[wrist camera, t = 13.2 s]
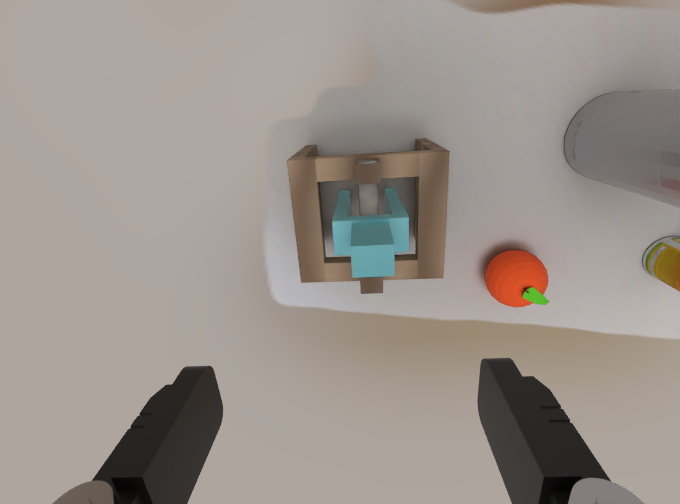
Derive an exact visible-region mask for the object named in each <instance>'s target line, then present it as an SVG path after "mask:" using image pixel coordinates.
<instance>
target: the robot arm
mask: <svg viewBox="0 0 680 504" xmlns="http://www.w3.org/2000/svg"><path fill="white" fill-rule="evenodd" d="M564 150H565V156H566V158H567V161H568V163H569V164H570V166H571V167H572V168H573V169H574V170H575V171H576V172H578V173H579V174H581V175H584V176H586V177H589V178H592V179H595V180H598V181H601V182H604V183H607V184H610V185H613V186H616V187H619V188H622V189H625V190H628V191H631V192H634V193H637V194H640V195H643V196H646V197H649V198H652V199H655V200H658V201H661V202H664V203H667V204H670V205H673V206H676V207H679V208H680V90H659V91H631V92H612V93H609V94H605V95H602V96H600V97H598V98H596V99H594V100H592V101H591V102H589V103H588V104H586V105H585V106H584V107H583V108H582V109H581V110H580V111H579V112H578V113H577V114H576V116H575V117H574V119H573V120H572V121H571V123H570V125H569V128H568V130H567V133H566V136H565V143H564ZM478 411H479V416H480V420H481V423H482V426H483V429H484V431H485V434H486V436H487V439H488V442H489V444H490V447H491V449H492V452H493V455H494V457H495V460H496V463H497V465H498V468H499V471H500V473H501V476H502V478H503V481H504V484H505V486H506V488H507V492H508V494H509V497H510V499H511V502H512V504H644V503H643V502H642V501H641V500H640V499H639V498H638V497H636V496H635V495H634V494H633V493H631V492H630V491H628V490H626V489H625V488H623V487H622V486H620V485H618V484H616V483H613V482H611V480H610V479H609V478H608V476H607V475H606V473H605V472H604V470H603V469H602V467H601V466H600V464H599V463H598V462H597V460H596V458H595V457H594V455H593V454H592V452H591V451H590V449H589V448H588V446H587V445H586V443H585V442H584V440H583V439H582V437H581V436H580V434H579V433H578V431H577V430H576V428H575V427H574V425H573V424H572V423H570V419H569V418H568V416H567V415H566V413H565V412H564V410H563V409H561V406H560V404H559V403H558V401H557V400H556V398H555V397H554V396H553V394H552V392H551V391H550V389H548V388H547V387H546V386H544V385H543V384H542V383H541V382H540V381H538V380H537V379H536V378H535V377H533V376H529V377H522V375H521V374H520V372H519V370H518V368H517V367H516V365H515V364H514V362H513V360H511V359H510V358H493V359H482V361H481V366H480V378H479V390H478ZM222 417H223V404H222V400H221V396H220V392H219V389H218V384H217V380H216V377H215V373H214V370H213V368H212V367H211V366H190V367H185V368H183V369H182V371H181V372H180V374H179V375H178V376H177V378H176V380H175V381H174V383H173V384H172V385H165V386H164V387H163V388H162V389H161V390H159V391H158V392H157V393H156V394H155V395H154V396H152V397H151V398H150V399H149V401H148V402H147V404H146V405H145V406H144V408H143V409H142V411H141V412H140V416H137V418H136V419H135V420H134V422H133V423H132V425H131V428H130V429H128V430H127V432H126V433H125V435H124V436H123V437H122V439H121V440H120V442H119V443H118V445H117V446H116V447H115V449H114V450H113V452H112V453H111V455H110V456H109V457H108V459H107V460H106V462H105V463H104V464H103V466H102V467H101V469H100V470H99V471H98V473H97V474H96V476H95V477H94V478H93V480H92V481H90V482H86V483H83V484H81V485H78V486H76V487H74V488H73V489H71V490H69V491H68V492H66V493H65V494H63V495H62V496H61V497H60V498H58V499H57V500H56V501H55V502H54V503H53V504H187V503H188V500H189V498H190V496H191V493H192V491H193V489H194V486H195V484H196V482H197V479H198V477H199V475H200V472H201V470H202V468H203V465H204V463H205V461H206V458H207V456H208V454H209V451H210V449H211V447H212V444H213V442H214V440H215V437H216V435H217V433H218V430H219V428H220V426H221V422H222Z"/></svg>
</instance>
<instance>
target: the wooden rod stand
mask: <svg viewBox="0 0 680 504" xmlns="http://www.w3.org/2000/svg"><path fill="white" fill-rule="evenodd" d="M287 165H288V174H289V182H290V191H291V199H292V208H293V217H294V225H295V234H296V242H297V251H298V260H299V268H300V277H301V283H304V282H335V281H360V284H361V294H365V293H383V280H398V279H429V278H443V274H444V253H445V233H446V212H447V192H448V171H449V151H448V150H446V149H444V148H443V147H441V146H439V145H437V144H435V143H434V142H432V141H430V140H428V139H427V138H423V139H416V151H406V152H389V153H371V154H354V155H337V156H320V157H317V148H316V145H308V146H305V147H304V148H302V149H301V150H300V151H299V152H297V153H296V154H295V155H294V156H292V157H291V158H290V159H288V160H287ZM400 177H415V221H414V237H415V240H416V254H405V255H394V259H395V276H383V277H360V278H352V265H351V257H326V255H325V243H324V230H323V218H322V207H321V195H320V183H319V182H324V181H343V180H356V185H359V208H360V216H365V215H378V183H381V178H400Z"/></svg>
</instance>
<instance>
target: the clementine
mask: <svg viewBox="0 0 680 504" xmlns="http://www.w3.org/2000/svg"><path fill="white" fill-rule="evenodd" d="M485 282H486V286H487V289H488V291H489V292H490V294H491V295H492V296H493V297H494V298H495V299H496V300H498V301H499V302H500V303H503V304H505V305H508V306H512V307H523V306H527V305H530V304H532V303H536V304H541V305H546V304H547V303H548V302H549V301H548V300H547V299H546V298H545V297H544V296H543V294H544V292H545V291H546V288H547V285H548V275H547V270H546V268H545V267H544V265H543V263H542V262H541V261H540V260H539V259H538V258H537V257H536V256H534V255H532V254H530V253H528V252H526V251H520V250H511V251H506V252H503V253H501V254H499V255H497V256H496V257H495V258H493V259H492V260H491V262H490V263H489V265H488V267H487V270H486V273H485Z"/></svg>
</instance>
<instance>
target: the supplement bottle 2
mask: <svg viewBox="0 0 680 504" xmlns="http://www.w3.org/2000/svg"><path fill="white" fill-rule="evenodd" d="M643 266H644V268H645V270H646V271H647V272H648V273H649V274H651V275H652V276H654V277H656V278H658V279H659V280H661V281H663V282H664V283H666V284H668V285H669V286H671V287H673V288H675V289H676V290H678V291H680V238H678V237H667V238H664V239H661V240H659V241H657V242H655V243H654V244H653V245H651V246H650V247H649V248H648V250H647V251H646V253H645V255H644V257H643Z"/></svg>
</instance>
